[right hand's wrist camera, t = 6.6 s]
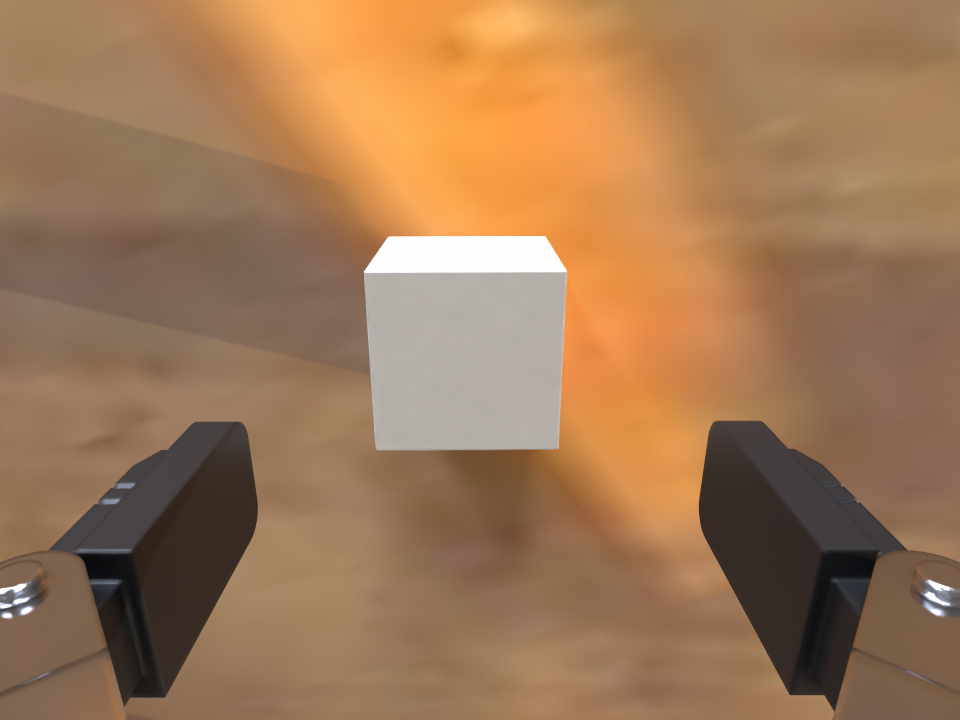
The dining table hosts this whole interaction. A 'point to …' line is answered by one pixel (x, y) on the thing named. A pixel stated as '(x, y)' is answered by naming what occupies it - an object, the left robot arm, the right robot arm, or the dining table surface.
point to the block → (466, 343)
